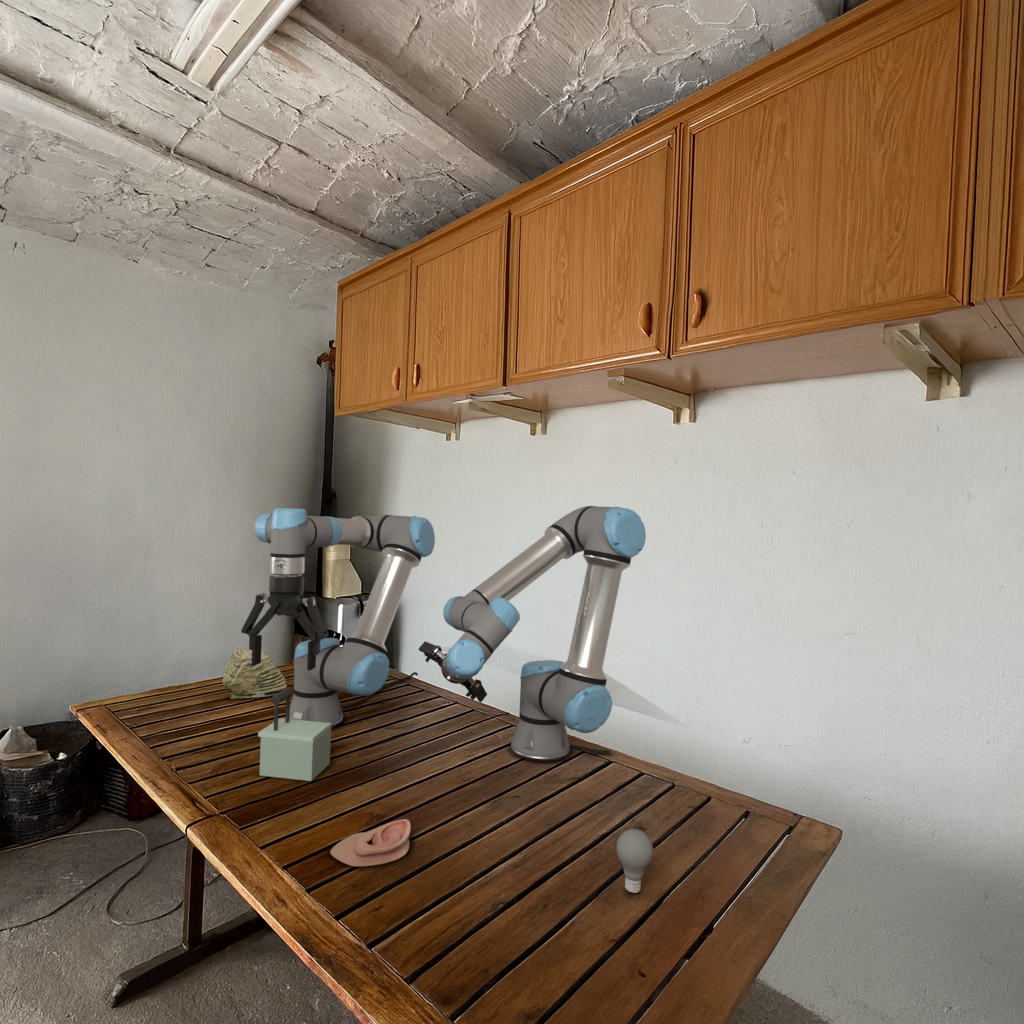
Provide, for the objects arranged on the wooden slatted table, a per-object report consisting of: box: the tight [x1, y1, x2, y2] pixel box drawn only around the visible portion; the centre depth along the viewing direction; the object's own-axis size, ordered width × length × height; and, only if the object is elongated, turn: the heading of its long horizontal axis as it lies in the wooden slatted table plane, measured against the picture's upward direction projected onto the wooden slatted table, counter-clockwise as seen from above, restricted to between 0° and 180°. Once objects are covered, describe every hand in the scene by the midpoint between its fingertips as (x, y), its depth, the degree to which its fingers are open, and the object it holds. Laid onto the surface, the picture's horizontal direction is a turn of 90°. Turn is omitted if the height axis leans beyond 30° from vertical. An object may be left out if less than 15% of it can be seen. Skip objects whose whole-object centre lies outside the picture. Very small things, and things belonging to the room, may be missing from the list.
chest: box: [259, 728, 332, 782], centre depth 146 cm, size 12×10×9 cm
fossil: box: [222, 646, 288, 699], centre depth 198 cm, size 9×18×15 cm, turn 132°
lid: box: [257, 687, 331, 742], centre depth 146 cm, size 13×10×9 cm
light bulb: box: [615, 828, 654, 894], centre depth 106 cm, size 6×6×10 cm
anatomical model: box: [329, 818, 412, 867], centre depth 114 cm, size 13×4×12 cm
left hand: (283, 666), depth 146 cm, fingers open, 13 cm apart
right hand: (449, 674), depth 163 cm, fingers open, 13 cm apart
